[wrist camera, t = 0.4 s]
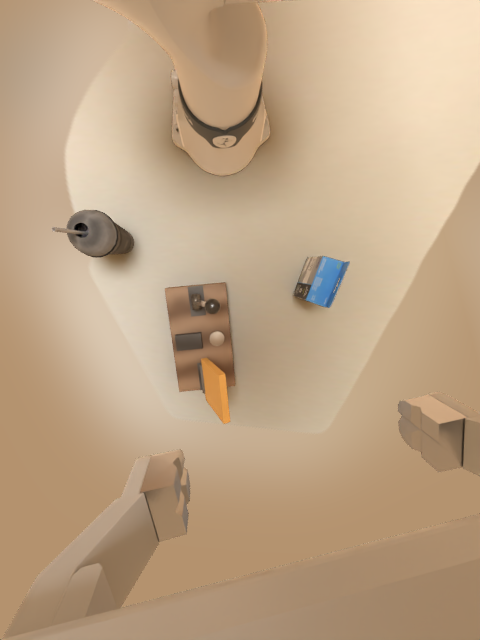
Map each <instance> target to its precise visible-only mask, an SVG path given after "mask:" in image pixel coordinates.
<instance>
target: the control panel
mask: <svg viewBox="0 0 480 640" xmlns="http://www.w3.org/2000/svg"><path fill="white" fill-rule="evenodd" d="M165 294H166V301H167V308H168V315H169V322H170V329H171V336H172V343H173V350H174V357H175V364H176V371H177V378H178V385H179V392H182V391H191V390H203V389H202V381H201V373H200V364H202V363H201V359H203V358H208V359H209V360H210V361H211V362H212V363H213V364H215V365H216V366H217V367H218V368H219V369H220V370H221V371H223V372H224V373H225V377H226V386H227V387H228V386H235V377H234V366H233V356H232V346H231V336H230V325H229V315H228V305H227V294H226V284H225V282H224V283H213V284H202V285H191V286H180V287H169V288H166V289H165ZM191 294H200V297H201V300H202V301H207V300H208V299H211V298H214V299H217V300H218V301H219V302H220V305H221V307H220V310H219V312H218V313H216V314H209V313H207V312H206V310H205V307H203V306H202V309H201V310H193V309H192V301H191Z"/></svg>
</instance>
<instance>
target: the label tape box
mask: <svg viewBox="0 0 480 640" xmlns="http://www.w3.org/2000/svg"><path fill="white" fill-rule="evenodd" d="M349 263H350V262H343V261H340V260H336V259H333V258H329V257H325V256H318V257H308V258H307V259H306V262H305V265H304V267H303V270H302V273H301V275H300V278H299V281H298V283H297V286H296V289H295V291H294V294H293V296H295V297H298V298H300V299H303V300H306V301H309V302H311V303H314V304H317V305H320V306H322V307H328V308H330V307H331V305H332V303H333V301H334V299H335V297H336V294H337V292H338V290H339V287H340V285H341V283H342V280H343V278H344V276H345V273H346V271H347V268H348V266H349ZM339 278H340V280H339ZM338 280H339V282H338ZM337 282H338V286H337V287H336V285H337ZM335 287H336V289H335ZM334 290H335V291H334ZM333 292H334V293H333Z"/></svg>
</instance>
